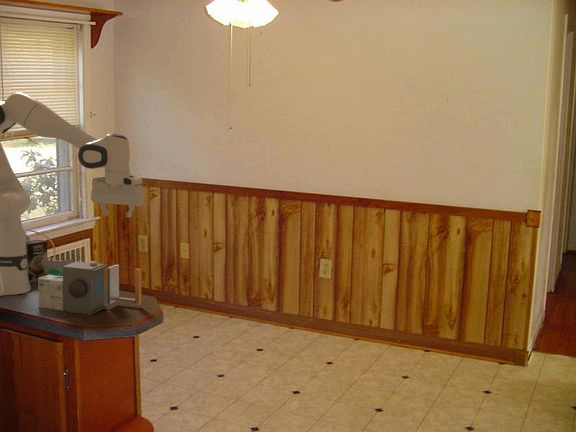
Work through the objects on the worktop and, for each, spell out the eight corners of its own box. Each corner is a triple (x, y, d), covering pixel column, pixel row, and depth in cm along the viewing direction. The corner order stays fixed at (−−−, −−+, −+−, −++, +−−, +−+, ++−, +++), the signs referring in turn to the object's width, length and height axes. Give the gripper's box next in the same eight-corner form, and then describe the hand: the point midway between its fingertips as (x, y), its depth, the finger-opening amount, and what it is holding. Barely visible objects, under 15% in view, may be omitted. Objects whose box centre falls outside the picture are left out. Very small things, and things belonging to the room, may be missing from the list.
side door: (107, 305, 266) (107, 267, 264) (116, 301, 272) (116, 264, 270) (132, 308, 263) (132, 270, 261) (141, 304, 269) (141, 266, 267)
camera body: (60, 312, 259) (59, 264, 256) (77, 304, 269) (77, 258, 267) (91, 316, 255) (90, 268, 253) (107, 308, 266) (107, 261, 263)
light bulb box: (74, 306, 267) (74, 277, 266) (63, 311, 261) (62, 281, 260) (50, 302, 271) (49, 273, 269) (37, 307, 265) (37, 277, 263)
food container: (40, 287, 293) (39, 261, 291) (41, 283, 299) (41, 258, 297) (72, 286, 296) (72, 261, 294) (73, 282, 302) (73, 258, 300)
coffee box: (28, 283, 297) (28, 243, 294) (19, 281, 301) (18, 241, 298) (48, 280, 304) (47, 240, 302) (39, 277, 308) (38, 238, 306)
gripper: (87, 177, 273) (87, 215, 275) (138, 181, 267) (138, 219, 269) (96, 176, 279) (96, 212, 281) (146, 179, 273) (146, 217, 275)
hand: (117, 216), depth 275 cm, fingers open, 8 cm apart
